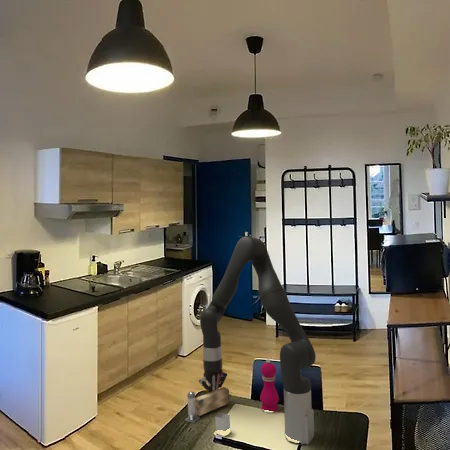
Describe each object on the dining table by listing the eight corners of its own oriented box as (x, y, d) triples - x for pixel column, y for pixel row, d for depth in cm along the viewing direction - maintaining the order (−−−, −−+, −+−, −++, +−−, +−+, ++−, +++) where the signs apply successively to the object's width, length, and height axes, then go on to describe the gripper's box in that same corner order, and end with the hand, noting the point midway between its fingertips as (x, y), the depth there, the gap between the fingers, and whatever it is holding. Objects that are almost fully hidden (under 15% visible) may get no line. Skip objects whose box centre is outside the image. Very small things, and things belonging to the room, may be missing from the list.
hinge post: (199, 418, 165) (198, 390, 165) (193, 423, 162) (192, 395, 161) (190, 415, 167) (189, 388, 167) (184, 420, 164) (183, 392, 163)
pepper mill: (278, 414, 166) (276, 363, 165) (259, 413, 168) (257, 362, 166) (279, 405, 173) (278, 356, 172) (261, 404, 175) (260, 355, 174)
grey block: (230, 432, 155) (230, 414, 154) (225, 437, 151) (225, 419, 151) (221, 429, 157) (220, 411, 156) (215, 434, 153) (215, 416, 153)
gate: (199, 416, 165) (198, 400, 165) (195, 413, 167) (194, 398, 167) (229, 403, 175) (229, 388, 174) (225, 400, 177) (224, 386, 176)
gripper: (220, 350, 180) (221, 391, 181) (193, 358, 172) (195, 401, 173) (231, 355, 174) (232, 397, 175) (204, 363, 166) (206, 408, 167)
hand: (214, 399), depth 174 cm, fingers closed
